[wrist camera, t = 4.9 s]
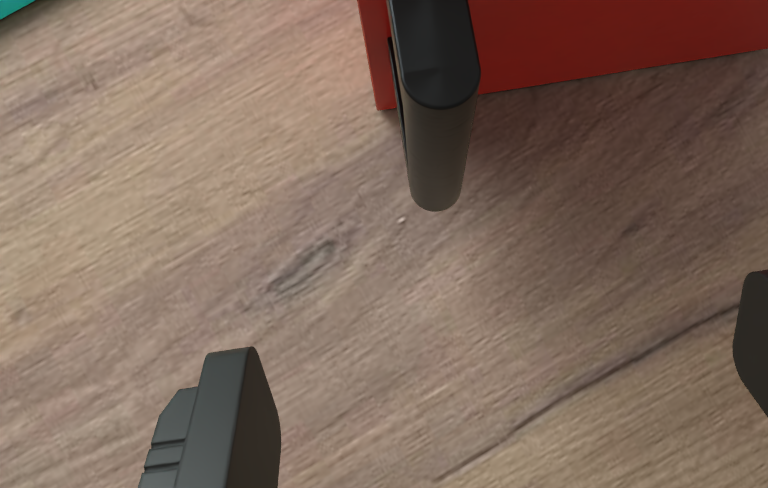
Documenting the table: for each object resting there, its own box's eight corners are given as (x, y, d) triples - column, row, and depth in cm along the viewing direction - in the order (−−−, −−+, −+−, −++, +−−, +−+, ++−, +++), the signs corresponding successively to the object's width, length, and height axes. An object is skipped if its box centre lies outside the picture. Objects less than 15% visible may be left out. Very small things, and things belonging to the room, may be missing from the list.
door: (807, 181, 24) (1464, -171, 9) (397, 244, 25) (348, 13, 9) (762, 25, 26) (1264, -515, 10) (373, 87, 26) (297, -340, 11)
